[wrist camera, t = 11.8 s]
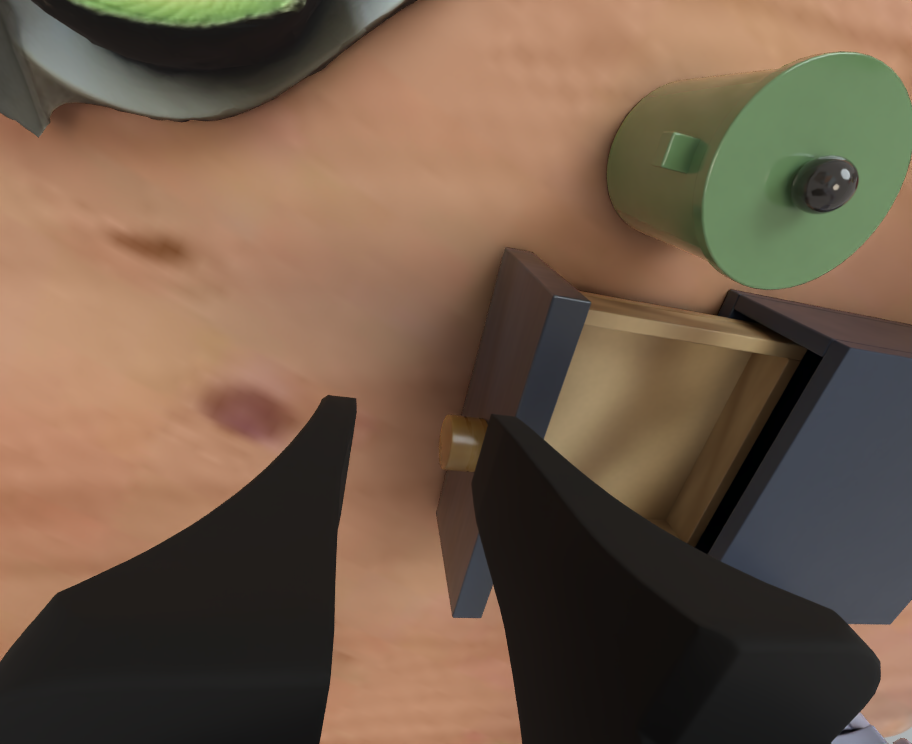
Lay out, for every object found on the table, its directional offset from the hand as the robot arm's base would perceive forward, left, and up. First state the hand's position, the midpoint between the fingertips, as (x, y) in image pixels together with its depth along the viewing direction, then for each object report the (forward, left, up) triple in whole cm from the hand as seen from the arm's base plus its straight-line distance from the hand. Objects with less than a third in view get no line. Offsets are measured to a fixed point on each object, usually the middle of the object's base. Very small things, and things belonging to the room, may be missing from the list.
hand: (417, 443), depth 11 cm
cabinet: (-4, -19, -9) cm, 22 cm away
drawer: (-3, -9, -9) cm, 13 cm away
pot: (+7, -9, -9) cm, 15 cm away
